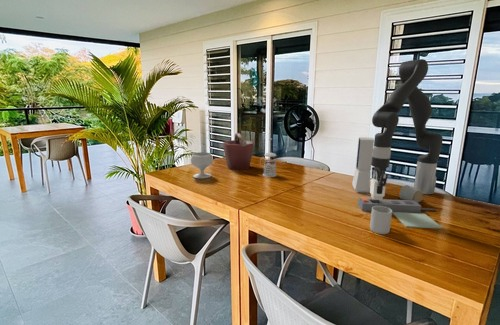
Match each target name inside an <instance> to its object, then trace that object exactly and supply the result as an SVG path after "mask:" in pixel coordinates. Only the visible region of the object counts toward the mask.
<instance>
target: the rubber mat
mask: <svg viewBox="0 0 500 325" xmlns="http://www.w3.org/2000/svg"><path fill="white" fill-rule="evenodd" d="M392 216H394V217H395V218H397V220H398V221H399V222H401V224H402V225H403V226H404V227H405V228H416V229H417V228H420V229H443V227H442V226H441V225H440V224H439V223H437V222H436V221H435V220H434V219H433V218H431V217H430V216H428V215H427V214H426V213H425V212H424V213H423V212H421V213H404V212H392Z"/></svg>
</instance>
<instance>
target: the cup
mask: <svg viewBox="0 0 500 325" xmlns="http://www.w3.org/2000/svg"><path fill="white" fill-rule="evenodd" d="M370 212H371V213H370V224H369V229H370V231H371V232H373V233H375V234H378V235H387V234H389V233H390V230H391V223H392V216H393V214H392V210H391V209H390V208H387V207H384V206H373V207H372V211H370Z"/></svg>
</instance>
